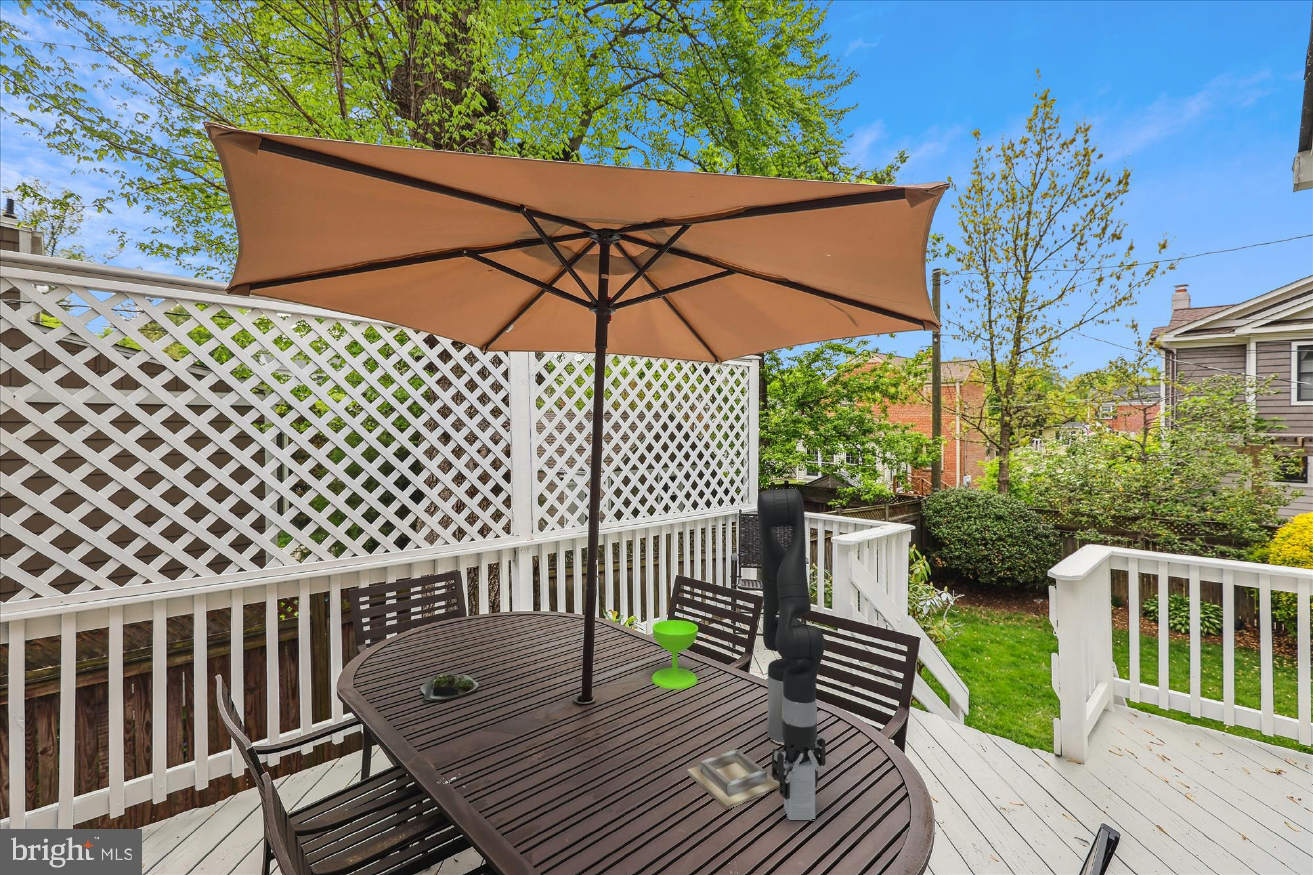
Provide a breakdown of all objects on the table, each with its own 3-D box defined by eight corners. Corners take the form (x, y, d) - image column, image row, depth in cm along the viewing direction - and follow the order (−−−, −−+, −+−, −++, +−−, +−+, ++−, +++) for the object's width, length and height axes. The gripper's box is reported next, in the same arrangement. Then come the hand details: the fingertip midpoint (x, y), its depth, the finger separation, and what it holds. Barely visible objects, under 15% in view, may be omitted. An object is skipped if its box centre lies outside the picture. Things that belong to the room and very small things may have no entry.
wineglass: (699, 689, 186) (699, 635, 186) (651, 688, 186) (651, 634, 186) (696, 670, 202) (697, 620, 202) (652, 669, 202) (652, 619, 202)
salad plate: (409, 687, 186) (409, 673, 186) (462, 673, 197) (462, 660, 197) (427, 708, 171) (427, 693, 171) (483, 693, 182) (484, 678, 182)
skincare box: (809, 808, 125) (809, 754, 125) (815, 821, 121) (816, 765, 121) (782, 808, 125) (783, 754, 125) (788, 821, 120) (788, 765, 121)
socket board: (738, 756, 146) (738, 742, 146) (780, 788, 132) (780, 773, 132) (687, 773, 138) (687, 759, 138) (726, 810, 124) (727, 794, 124)
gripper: (810, 703, 130) (809, 773, 130) (763, 717, 123) (762, 792, 122) (835, 716, 123) (834, 791, 123) (787, 732, 116) (786, 811, 116)
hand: (798, 791), depth 123 cm, fingers open, 7 cm apart
